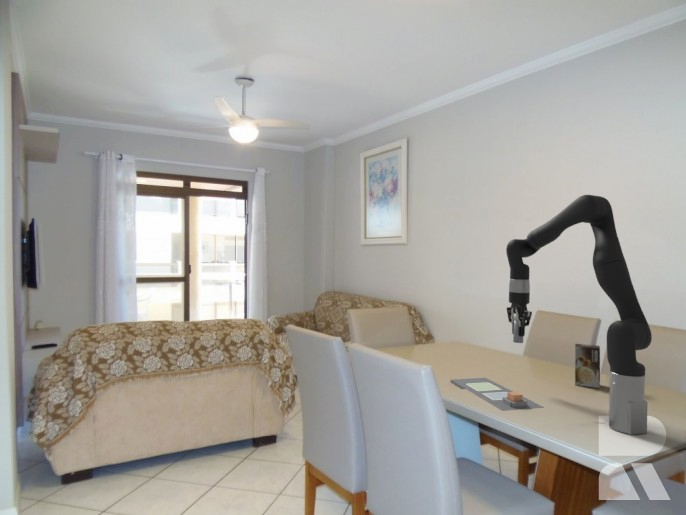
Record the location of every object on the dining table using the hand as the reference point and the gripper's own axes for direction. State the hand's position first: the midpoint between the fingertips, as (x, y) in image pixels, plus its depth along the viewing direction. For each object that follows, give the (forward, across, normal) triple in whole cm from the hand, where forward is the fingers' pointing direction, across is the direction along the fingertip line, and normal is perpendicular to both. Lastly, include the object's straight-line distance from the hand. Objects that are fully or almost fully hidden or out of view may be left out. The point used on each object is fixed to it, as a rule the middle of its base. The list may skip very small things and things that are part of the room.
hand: (518, 335), depth 183 cm
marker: (+3, 0, 0) cm, 3 cm away
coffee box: (+22, +1, -33) cm, 39 cm away
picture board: (+22, -3, +12) cm, 25 cm away
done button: (+19, -17, +12) cm, 29 cm away
